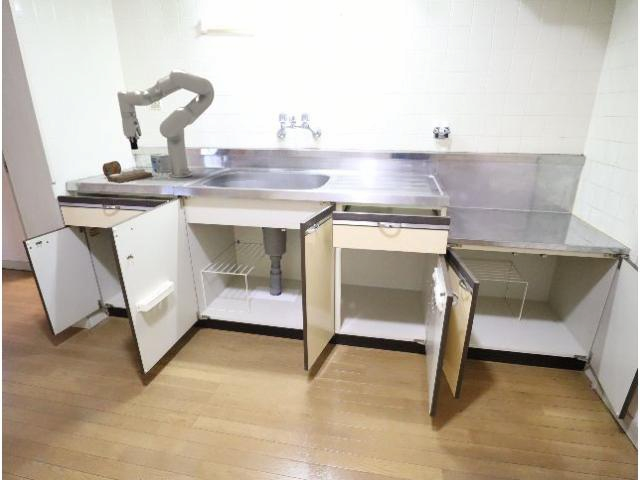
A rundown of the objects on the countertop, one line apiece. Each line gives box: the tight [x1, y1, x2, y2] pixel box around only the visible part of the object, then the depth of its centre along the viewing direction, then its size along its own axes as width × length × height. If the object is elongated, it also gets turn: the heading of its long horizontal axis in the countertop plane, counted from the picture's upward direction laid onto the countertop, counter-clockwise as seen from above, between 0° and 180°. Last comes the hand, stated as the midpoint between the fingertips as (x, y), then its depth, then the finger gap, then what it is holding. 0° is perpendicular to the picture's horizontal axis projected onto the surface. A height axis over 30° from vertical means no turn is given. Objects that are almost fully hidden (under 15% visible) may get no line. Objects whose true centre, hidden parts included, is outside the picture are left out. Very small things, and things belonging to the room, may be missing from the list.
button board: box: [106, 171, 153, 184], centre depth 204 cm, size 11×20×3 cm, turn 149°
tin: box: [102, 160, 122, 178], centre depth 213 cm, size 15×3×8 cm, turn 179°
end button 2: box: [132, 167, 146, 173], centre depth 210 cm, size 4×4×3 cm
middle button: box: [121, 169, 134, 175], centre depth 205 cm, size 4×4×3 cm
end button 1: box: [110, 173, 122, 177], centre depth 200 cm, size 4×4×3 cm
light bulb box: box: [150, 153, 171, 174], centre depth 225 cm, size 11×7×11 cm, turn 56°
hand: (134, 149), depth 206 cm, fingers closed
